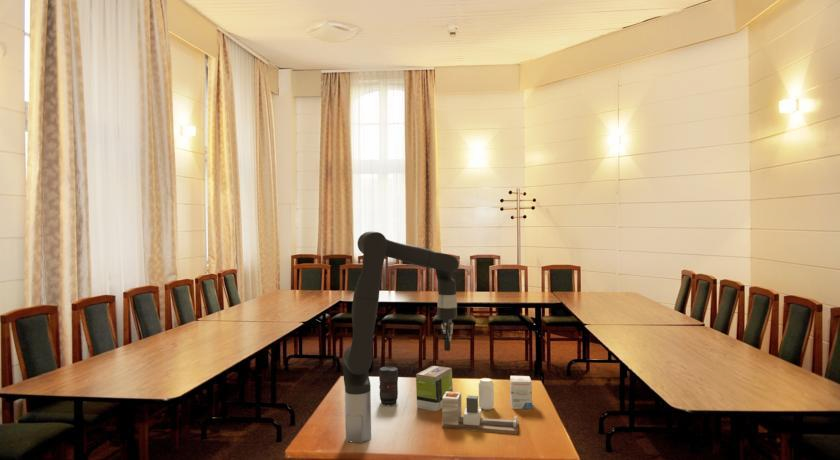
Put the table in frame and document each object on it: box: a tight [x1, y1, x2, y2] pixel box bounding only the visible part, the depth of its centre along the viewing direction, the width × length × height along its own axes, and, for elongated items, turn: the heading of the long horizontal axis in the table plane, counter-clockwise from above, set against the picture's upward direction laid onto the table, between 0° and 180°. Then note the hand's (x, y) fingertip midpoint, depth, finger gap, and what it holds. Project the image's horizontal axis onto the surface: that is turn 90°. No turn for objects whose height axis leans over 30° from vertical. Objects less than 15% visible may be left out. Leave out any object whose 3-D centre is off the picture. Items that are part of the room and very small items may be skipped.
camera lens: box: [378, 366, 399, 406], centre depth 226 cm, size 8×8×15 cm
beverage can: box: [478, 377, 495, 411], centre depth 218 cm, size 6×6×12 cm
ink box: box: [509, 375, 533, 410], centre depth 221 cm, size 9×8×12 cm
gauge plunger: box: [448, 391, 456, 397], centre depth 201 cm, size 3×3×10 cm
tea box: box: [415, 365, 454, 412], centre depth 223 cm, size 15×10×15 cm, turn 149°
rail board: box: [441, 391, 520, 435], centre depth 199 cm, size 10×28×11 cm, turn 76°
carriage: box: [462, 395, 482, 426], centre depth 199 cm, size 7×6×9 cm
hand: (447, 350), depth 203 cm, fingers closed
